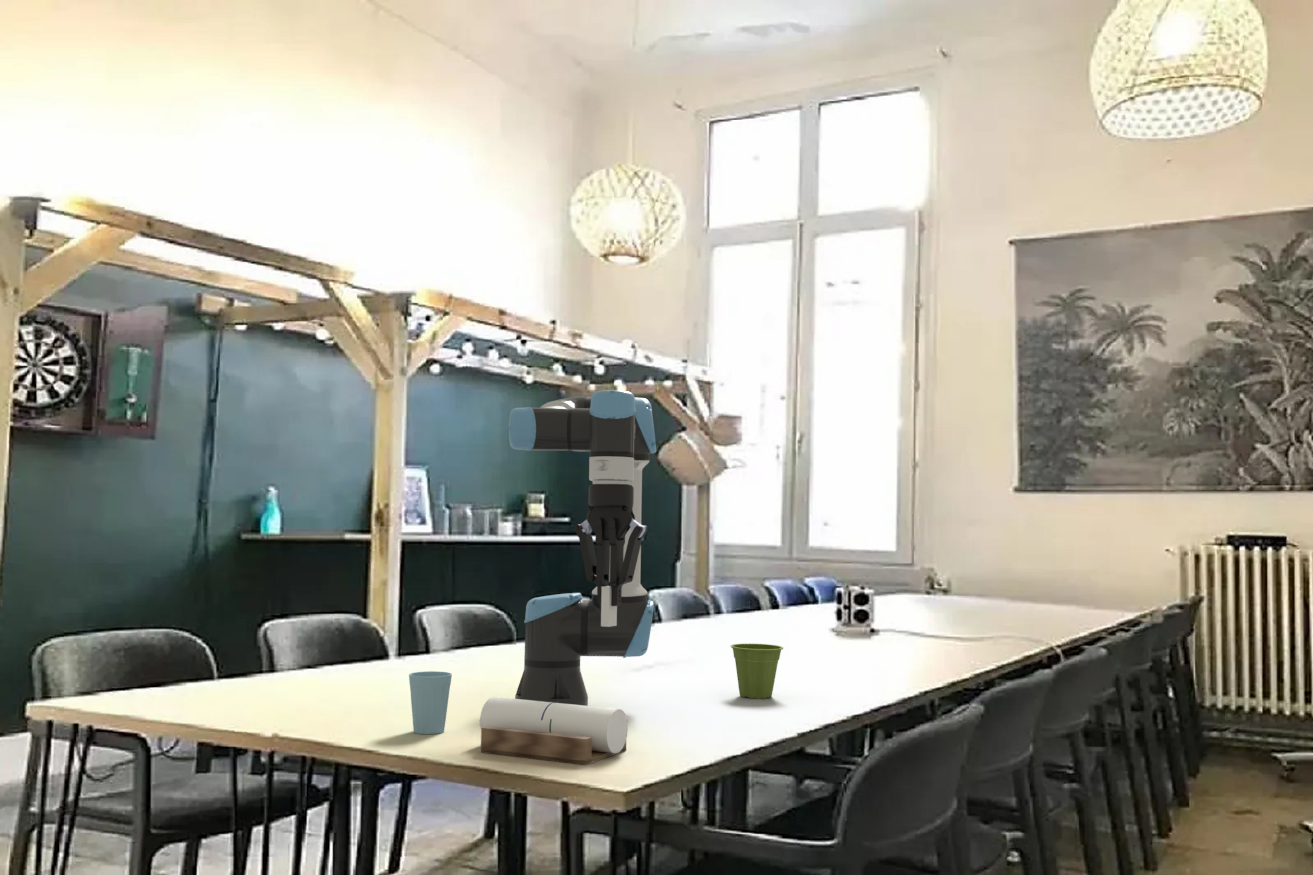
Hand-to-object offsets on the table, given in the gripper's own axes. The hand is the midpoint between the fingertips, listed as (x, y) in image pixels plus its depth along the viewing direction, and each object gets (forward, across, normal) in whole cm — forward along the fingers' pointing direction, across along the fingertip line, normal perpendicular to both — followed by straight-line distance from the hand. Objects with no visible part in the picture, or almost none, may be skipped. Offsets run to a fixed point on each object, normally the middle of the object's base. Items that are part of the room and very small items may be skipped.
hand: (608, 625), depth 196 cm
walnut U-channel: (+21, -10, 0) cm, 24 cm away
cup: (+22, -39, +4) cm, 45 cm away
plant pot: (+22, -4, +77) cm, 80 cm away
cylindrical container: (+17, +2, +1) cm, 17 cm away
